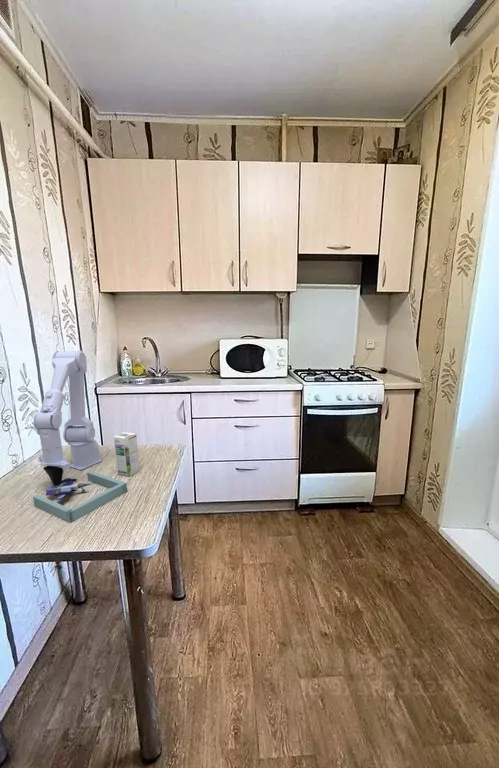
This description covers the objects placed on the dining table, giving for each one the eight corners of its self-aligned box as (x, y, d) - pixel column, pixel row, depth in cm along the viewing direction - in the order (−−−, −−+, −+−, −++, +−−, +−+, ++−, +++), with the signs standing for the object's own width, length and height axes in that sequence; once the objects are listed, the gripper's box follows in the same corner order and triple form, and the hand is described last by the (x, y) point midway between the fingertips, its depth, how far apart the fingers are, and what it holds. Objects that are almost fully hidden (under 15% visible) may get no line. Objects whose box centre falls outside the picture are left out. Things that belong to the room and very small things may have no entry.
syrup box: (117, 474, 131) (112, 436, 128) (128, 467, 136) (124, 431, 133) (129, 476, 128) (125, 438, 125) (140, 469, 134) (136, 432, 131)
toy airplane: (102, 489, 120) (100, 479, 119) (61, 510, 108) (60, 499, 107) (78, 480, 127) (76, 471, 126) (38, 499, 115) (36, 488, 114)
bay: (91, 478, 128) (90, 470, 127) (127, 491, 118) (126, 482, 118) (34, 505, 111) (32, 496, 110) (70, 522, 102) (69, 513, 101)
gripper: (27, 447, 119) (33, 485, 122) (52, 455, 111) (58, 495, 114) (48, 440, 125) (54, 476, 127) (73, 447, 117) (79, 486, 120)
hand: (57, 485), depth 121 cm, fingers closed
